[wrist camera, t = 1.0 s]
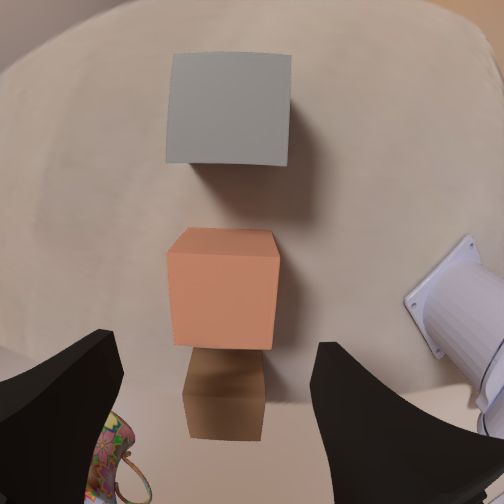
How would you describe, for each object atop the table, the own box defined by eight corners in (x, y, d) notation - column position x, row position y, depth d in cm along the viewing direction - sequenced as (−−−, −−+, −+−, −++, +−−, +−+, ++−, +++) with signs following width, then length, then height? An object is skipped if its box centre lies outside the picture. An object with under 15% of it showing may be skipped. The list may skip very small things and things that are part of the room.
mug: (73, 425, 24) (44, 486, 14) (59, 378, 21) (14, 450, 11) (163, 457, 25) (148, 529, 15) (167, 418, 22) (146, 511, 12)
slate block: (278, 84, 14) (291, 55, 9) (274, 165, 16) (286, 166, 11) (193, 83, 14) (173, 54, 9) (188, 163, 16) (165, 163, 11)
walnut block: (261, 349, 20) (265, 398, 15) (257, 394, 21) (260, 441, 16) (193, 346, 20) (182, 394, 15) (198, 391, 21) (190, 437, 16)
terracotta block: (270, 230, 17) (280, 257, 12) (265, 303, 18) (271, 349, 14) (188, 227, 17) (166, 252, 12) (190, 300, 18) (174, 344, 14)
